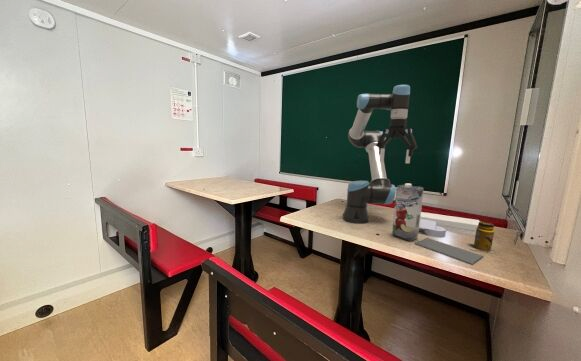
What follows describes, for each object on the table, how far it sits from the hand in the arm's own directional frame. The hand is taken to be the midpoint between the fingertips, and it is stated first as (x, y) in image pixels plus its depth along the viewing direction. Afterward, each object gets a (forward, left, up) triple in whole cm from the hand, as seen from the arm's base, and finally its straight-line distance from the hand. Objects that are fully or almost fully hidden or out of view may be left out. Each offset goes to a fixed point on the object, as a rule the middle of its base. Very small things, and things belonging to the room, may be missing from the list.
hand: (393, 162), depth 117 cm
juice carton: (+10, -1, -37) cm, 38 cm away
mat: (+28, +1, -36) cm, 46 cm away
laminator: (+13, +33, -37) cm, 51 cm away
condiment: (+35, +17, -37) cm, 53 cm away
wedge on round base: (+14, +17, -37) cm, 43 cm away
